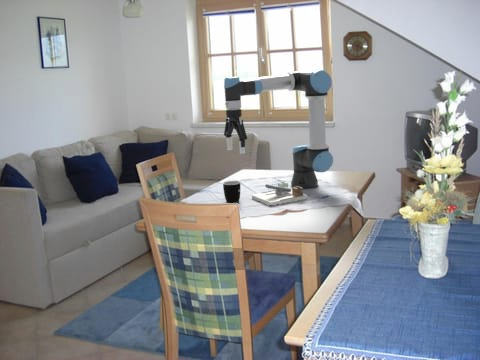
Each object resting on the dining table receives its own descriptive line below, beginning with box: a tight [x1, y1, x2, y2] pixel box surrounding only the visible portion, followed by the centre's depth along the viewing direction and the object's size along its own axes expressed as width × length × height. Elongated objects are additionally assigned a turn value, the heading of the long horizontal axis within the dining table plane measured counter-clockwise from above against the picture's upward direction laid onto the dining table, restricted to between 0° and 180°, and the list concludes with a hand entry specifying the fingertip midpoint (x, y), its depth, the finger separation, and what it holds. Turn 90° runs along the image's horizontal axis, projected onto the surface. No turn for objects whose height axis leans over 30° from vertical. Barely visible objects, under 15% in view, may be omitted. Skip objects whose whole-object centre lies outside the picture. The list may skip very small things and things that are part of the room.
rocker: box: [265, 183, 292, 192], centre depth 294 cm, size 14×4×2 cm, turn 119°
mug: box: [222, 180, 241, 204], centre depth 295 cm, size 12×9×10 cm
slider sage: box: [277, 180, 289, 191], centre depth 303 cm, size 4×4×5 cm
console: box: [251, 189, 308, 206], centre depth 294 cm, size 22×19×4 cm
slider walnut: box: [291, 186, 304, 196], centre depth 290 cm, size 4×4×5 cm
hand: (236, 151), depth 279 cm, fingers open, 13 cm apart
